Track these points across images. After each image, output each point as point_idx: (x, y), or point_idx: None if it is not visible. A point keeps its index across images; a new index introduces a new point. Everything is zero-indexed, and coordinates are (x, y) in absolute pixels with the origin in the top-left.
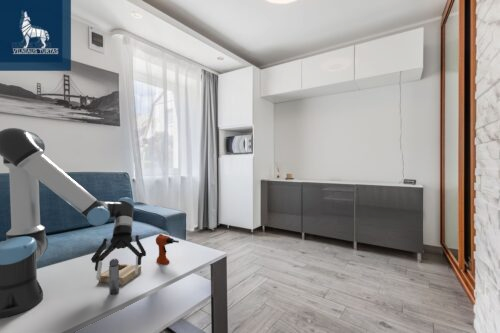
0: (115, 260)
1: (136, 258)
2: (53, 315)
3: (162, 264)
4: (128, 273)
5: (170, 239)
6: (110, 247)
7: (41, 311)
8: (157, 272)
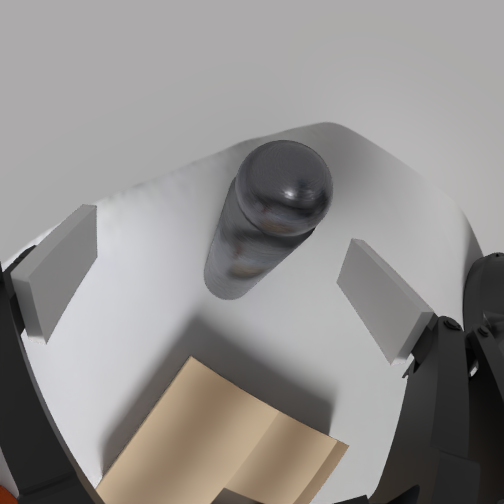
0: (276, 144)
1: (37, 260)
2: (401, 205)
3: (5, 490)
4: (159, 416)
5: None
6: (449, 454)
7: (439, 249)
8: None
